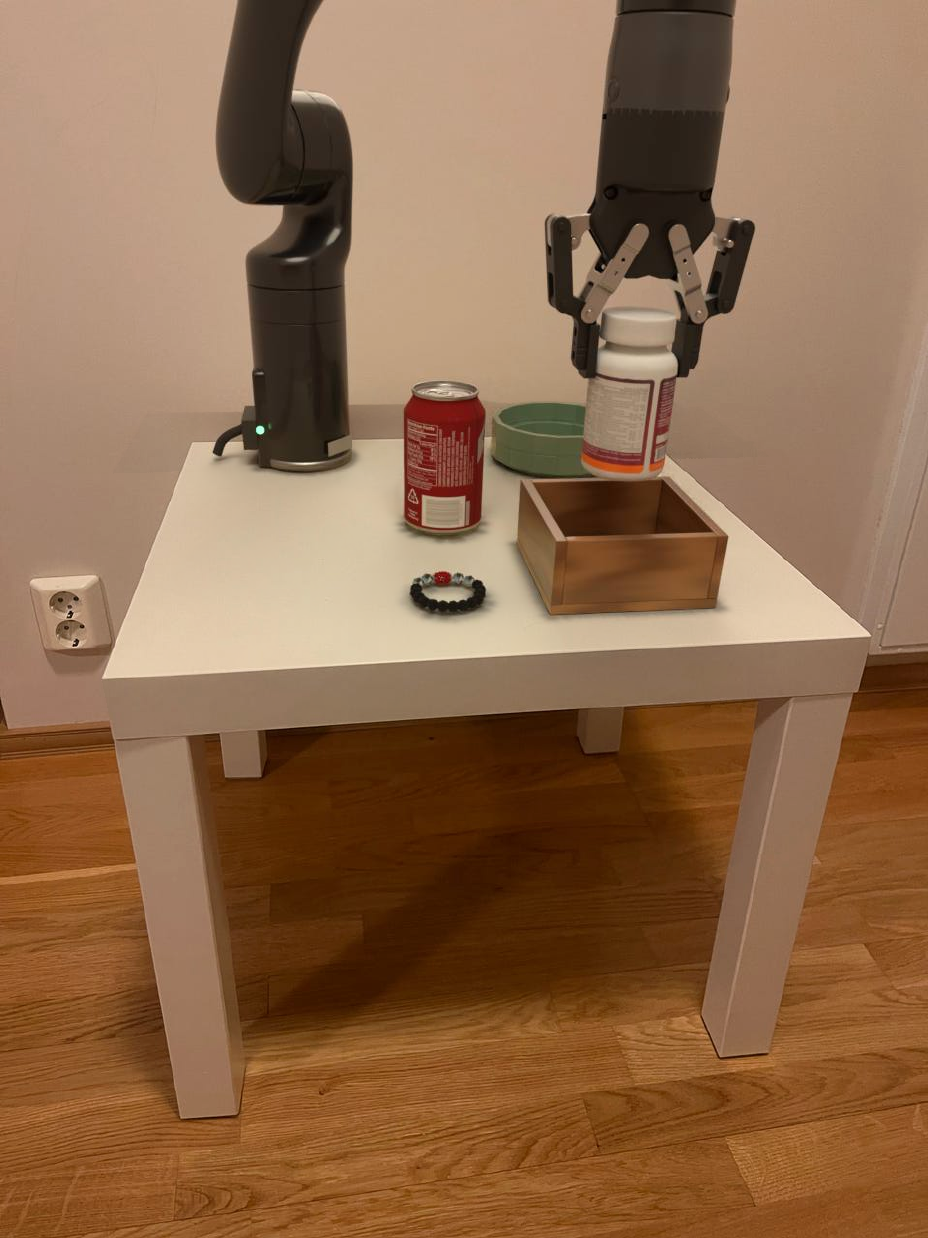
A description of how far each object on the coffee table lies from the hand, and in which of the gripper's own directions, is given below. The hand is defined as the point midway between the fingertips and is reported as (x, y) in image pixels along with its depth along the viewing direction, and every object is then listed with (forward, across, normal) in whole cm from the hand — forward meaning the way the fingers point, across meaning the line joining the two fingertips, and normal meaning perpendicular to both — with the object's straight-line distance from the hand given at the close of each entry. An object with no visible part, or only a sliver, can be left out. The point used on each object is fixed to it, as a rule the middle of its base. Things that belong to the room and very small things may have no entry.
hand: (632, 374), depth 64 cm
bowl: (+16, -2, -28) cm, 32 cm away
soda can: (+16, +12, -11) cm, 23 cm away
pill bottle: (+7, 0, 0) cm, 7 cm away
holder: (+16, 0, 0) cm, 16 cm away
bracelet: (+16, +13, +3) cm, 21 cm away
